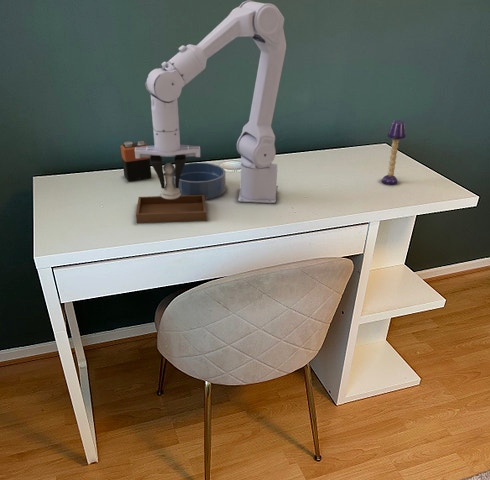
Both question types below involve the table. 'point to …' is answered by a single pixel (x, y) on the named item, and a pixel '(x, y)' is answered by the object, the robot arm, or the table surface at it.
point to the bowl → (202, 180)
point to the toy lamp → (394, 149)
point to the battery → (135, 162)
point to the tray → (171, 209)
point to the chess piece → (170, 183)
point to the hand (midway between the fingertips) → (170, 186)
